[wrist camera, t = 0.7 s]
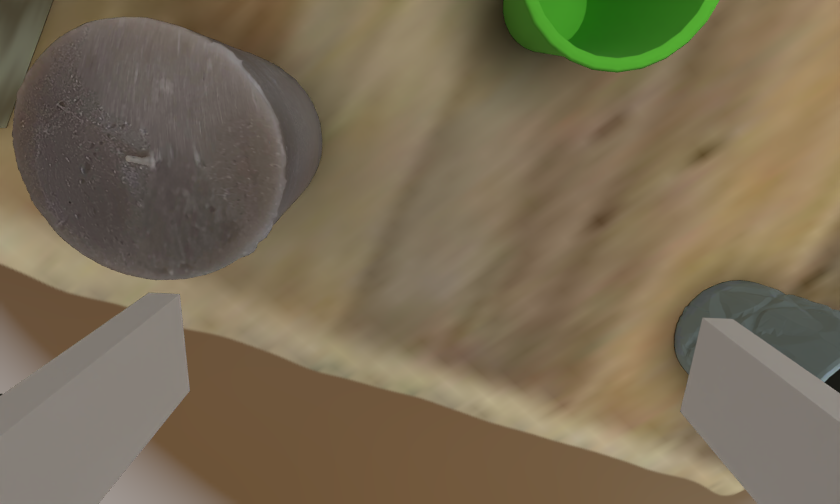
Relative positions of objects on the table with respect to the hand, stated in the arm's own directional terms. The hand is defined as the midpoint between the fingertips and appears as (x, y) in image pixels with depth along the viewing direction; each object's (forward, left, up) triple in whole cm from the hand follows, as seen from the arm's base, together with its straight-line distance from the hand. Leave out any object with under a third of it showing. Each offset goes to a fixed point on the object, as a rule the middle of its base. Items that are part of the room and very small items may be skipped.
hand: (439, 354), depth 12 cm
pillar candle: (+1, -11, -21) cm, 24 cm away
